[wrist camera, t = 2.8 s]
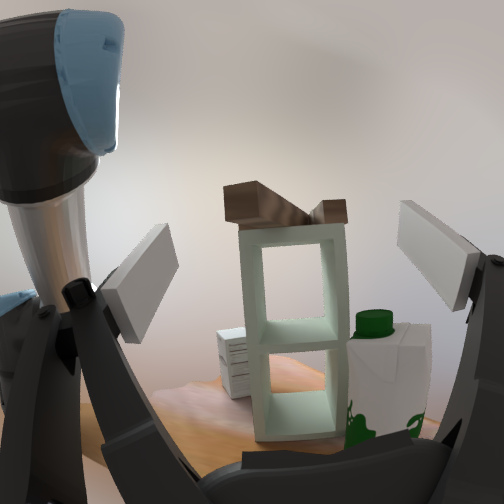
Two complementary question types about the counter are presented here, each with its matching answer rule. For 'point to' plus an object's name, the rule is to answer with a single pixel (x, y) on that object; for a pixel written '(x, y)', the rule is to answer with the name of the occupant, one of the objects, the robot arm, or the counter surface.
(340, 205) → the banded slat
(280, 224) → the plain slat
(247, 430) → the counter surface
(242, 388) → the supplement box
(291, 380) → the counter surface
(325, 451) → the counter surface
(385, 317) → the milk carton
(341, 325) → the shelf unit
